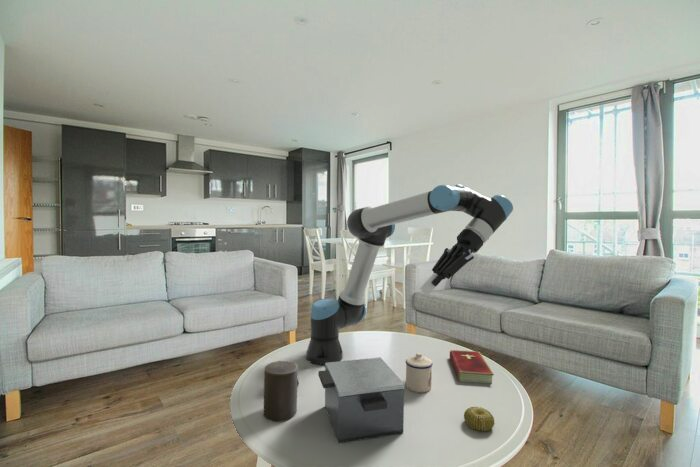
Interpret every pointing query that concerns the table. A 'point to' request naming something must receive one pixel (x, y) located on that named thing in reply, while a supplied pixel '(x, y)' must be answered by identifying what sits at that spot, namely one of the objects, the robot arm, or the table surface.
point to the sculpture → (479, 418)
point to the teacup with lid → (418, 373)
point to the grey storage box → (365, 414)
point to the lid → (359, 377)
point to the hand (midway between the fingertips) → (424, 291)
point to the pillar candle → (280, 391)
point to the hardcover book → (470, 366)
